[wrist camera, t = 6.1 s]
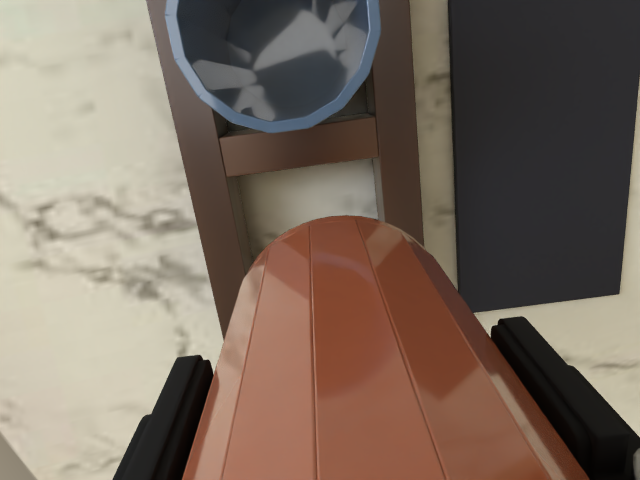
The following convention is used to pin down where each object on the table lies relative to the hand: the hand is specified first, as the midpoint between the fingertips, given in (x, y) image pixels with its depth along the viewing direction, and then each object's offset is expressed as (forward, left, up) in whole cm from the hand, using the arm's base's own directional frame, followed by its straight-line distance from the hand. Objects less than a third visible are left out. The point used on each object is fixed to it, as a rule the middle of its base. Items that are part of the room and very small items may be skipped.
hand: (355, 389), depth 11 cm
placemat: (-2, +13, -17) cm, 21 cm away
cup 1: (-9, -1, -17) cm, 19 cm away
